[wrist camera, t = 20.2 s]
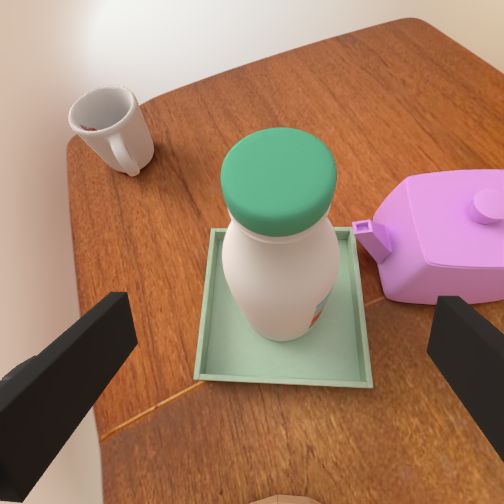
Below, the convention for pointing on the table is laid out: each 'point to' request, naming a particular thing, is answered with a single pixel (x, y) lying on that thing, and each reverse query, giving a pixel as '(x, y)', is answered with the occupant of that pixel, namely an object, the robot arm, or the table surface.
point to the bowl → (286, 500)
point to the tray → (285, 352)
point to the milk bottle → (280, 230)
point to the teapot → (440, 237)
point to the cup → (113, 128)
